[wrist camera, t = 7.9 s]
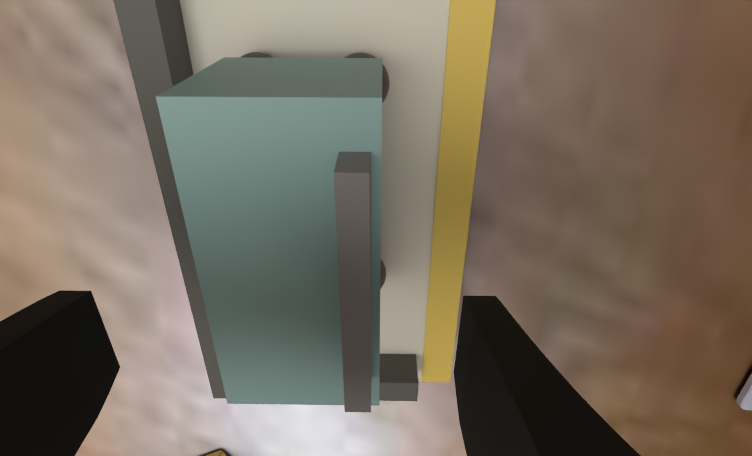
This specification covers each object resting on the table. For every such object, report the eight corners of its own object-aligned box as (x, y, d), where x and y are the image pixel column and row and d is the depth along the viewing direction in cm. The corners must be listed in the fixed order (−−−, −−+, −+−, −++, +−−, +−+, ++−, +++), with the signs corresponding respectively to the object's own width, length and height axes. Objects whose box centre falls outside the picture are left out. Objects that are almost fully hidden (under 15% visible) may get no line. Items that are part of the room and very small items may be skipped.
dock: (492, -147, 13) (534, -190, 9) (442, 338, 22) (454, 410, 18) (134, -148, 13) (41, -190, 9) (232, 336, 22) (203, 406, 18)
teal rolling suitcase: (389, 48, 13) (394, 114, 7) (385, 278, 17) (387, 439, 11) (233, 47, 13) (115, 112, 7) (267, 277, 17) (207, 437, 11)
